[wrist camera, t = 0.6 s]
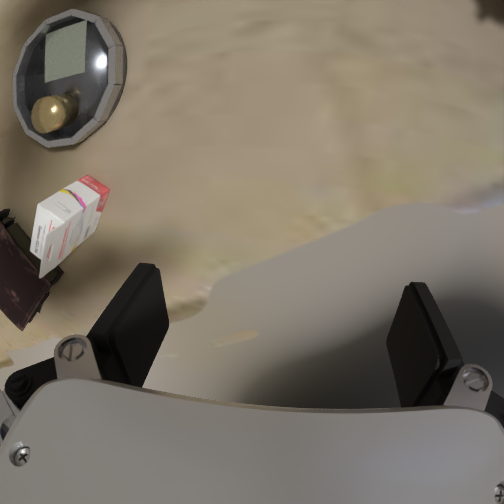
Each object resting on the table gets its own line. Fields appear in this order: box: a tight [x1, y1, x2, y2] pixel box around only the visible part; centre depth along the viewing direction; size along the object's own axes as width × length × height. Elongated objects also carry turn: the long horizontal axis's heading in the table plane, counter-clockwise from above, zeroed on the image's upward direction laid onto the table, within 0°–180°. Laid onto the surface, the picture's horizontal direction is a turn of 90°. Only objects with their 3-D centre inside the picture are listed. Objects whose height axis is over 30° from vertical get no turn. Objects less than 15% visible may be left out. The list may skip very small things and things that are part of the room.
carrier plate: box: [13, 9, 127, 148], centre depth 31 cm, size 20×20×6 cm
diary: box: [0, 209, 64, 331], centre depth 52 cm, size 19×25×5 cm
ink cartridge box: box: [30, 175, 110, 278], centre depth 37 cm, size 9×5×15 cm, turn 147°
